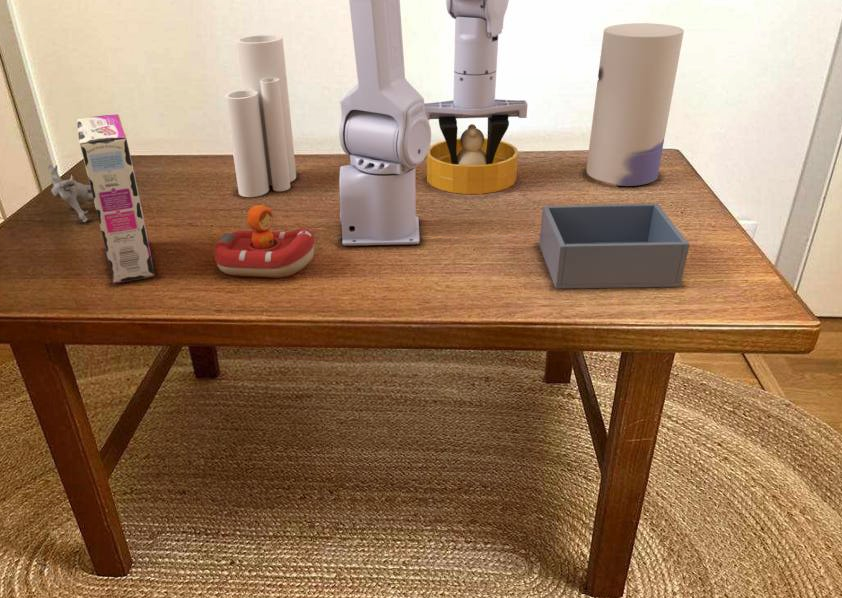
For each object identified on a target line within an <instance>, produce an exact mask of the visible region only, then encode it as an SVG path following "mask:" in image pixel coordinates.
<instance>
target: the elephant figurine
mask: <svg viewBox="0 0 842 598" xmlns="http://www.w3.org/2000/svg"><path fill="white" fill-rule="evenodd" d="M47 170H48V171H49V174H50V176H49V181H50V183H51V184H52V185H53V186H52V188H51V189H50V191H51V194H52V195H53V196H54V197H55V198H61V199H62V200H63V202H65V203H67V204H69V206H70V207H71V208H72V209H74V210H75V212H76V213H77V214H78V218H79V219H80V220H81V221H82V222H83V223H86V222H88V217H87V216H86V214H88V213H89V210H86V211H84V210H83V209H82V208H81V205H84V204H85V203H87V202H94V199H93V195H92V191H91V187H90V184H83V183H81V182H77V181H76V180H75V179H74V176H73V175H72V174H70V178H69V179H65V180H63V179H62V178H61V176H60V175H59V173H58V165H55V166H54V167H53V165H52V163H49V164H48V165H47Z"/></svg>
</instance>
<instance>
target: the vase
mask: <svg viewBox="0 0 842 598" xmlns="http://www.w3.org/2000/svg"><path fill="white" fill-rule="evenodd" d="M234 44H235V52H236V61H237V67H238V75H239V84H240V89H238V90H233V91H230V92H228V93H226V94H224V101H225V108H226V114H227V121H228V122H227V123H228V128H229V135H230V143H231V149H232V155H233V164H234V168H235V169H234V170H235V177H236V184H237V191H238V195H239V196H240V197H244V198H255V197H260V196H263V195H266V194H267V193H269V191H270V189H271V188H270V186H271V187H272V190H273V191H274V192H285V191H288V190H290V189H291V182H293V181H295V180H296V178H297V169H296V160H295V149H294V140H293V128H292V119H291V110H290V109H291V108H290V100H289V99H290V98H289V97H290V96H289V89H288V88H289V87H288V77H287V69H286V56H285V48H284V47H285V46H284V38H283V36H281V35H277V34H255V35H248V36H242V37H238V38H236V39H234Z"/></svg>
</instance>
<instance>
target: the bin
mask: <svg viewBox="0 0 842 598" xmlns="http://www.w3.org/2000/svg"><path fill="white" fill-rule="evenodd" d="M539 231H540V233H539V242H538V245H539V248H540V250H541V253H542V256H543V260H544V261H545V264H546V267H547V270H548V273H549V275H550V277H551V280H552V283H553V286H554V288H555V289H556V290H561V289H563V290H564V289H566V290H567V289H617V288H618V289H622V288H623V289H624V288H630V289H631V288H676V287H677V288H680V287H681V286H682V280H683V277H684V271H685V269H686V268H685V267H686V262H687V259H688V258H687V257H688V253H689V250H690V246H691V245H690V242H688V240H687V239H686V238H685V236H684V235H683V233H682V232H681V231H680V230H679V228H678V227H677V226H676V225H675V224H674V222H673V221H672V220H671V218H670V217H669V216H668V215H667V214H666V212H665V211H664V210H663V208H662V207H661V206H660V205H659V203H618V204H615V203H614V204H574V205H572V204H571V205H543V206H542V212H541V222H540V230H539Z"/></svg>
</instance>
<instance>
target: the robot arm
mask: <svg viewBox="0 0 842 598" xmlns="http://www.w3.org/2000/svg"><path fill="white" fill-rule="evenodd" d="M348 2H349V12H350V22H351V23H350V24H351V31H352V41H353V48H354V49H353V51H354V56H355V57H354V58H355V68H356V77H357V84H356V85H355V86H353V87H352V88H351V89H350V90H349V91H348V92H347V93H346V94H345V95H344V97H343V98H342V99H341V101H340V112H341V114H340V115H341V117H340V123H339V129H338V136H339V142H340V146H341V148H342V151H343V152H344V153H345V154H346V155H347V156H349V158H350V164H347V165H342V166H340V167H339V203H340V209H339V211H340V212H339V222H340V225H341V235H342V241H341V244H342V246H344V247H345V246H346V247H347V246H348V247H350V246H397V245H399V246H400V245H402V246H403V245H404V246H405V245H419V244H420V222H419V221H420V219H419V216H417V213H416V211H417V208H416V207H417V205H416V204H417V203H416V201H417V200H416V199H417V197H416V194H417V192H416V187H417V186H416V185H417V184H416V183H417V182H416V180H417V179H416V178H417V177H416V172H417V171H416V168H417V167H418V166H420V165H421V164H422V162H423V161H424V160H425V158H427V153H428V150H429V147H430V146H431V143H432V129H431V124H430V120H438V126H439V128H440V131H441V134H442V136H443V137H444V141H446V143H447V146H448V149H449V153H450V157H451V164H457V149H456V148H457V139H458V121H457V119H487V149H486V156H487V164H493V160H494V156H495V153H496V151H497V148H498V146H499V144H500V141H502V139H503V137H504V136H505V134H506V132H507V131H508V129H509V126H510V120H509V118H519V119H526V118H528V106H529V105H528V102H527V101H526V100H525V99H522V100H521V99H519V100H518V99H517V100H516V99H515V100H514V99H498V98H496V87H497V70H498V68H497V67H498V51H499V35H501V34H502V33H503V29H504V19H505V15H506V12H507V9H508V6H509V2H510V0H445V3H446V10H447V14H448V15H450V17H451V18H452V19H453V20H455V21H454V57H453V58H454V61H453V62H454V63H453V64H454V66H453V100H444V101H436V102H426V103H425V98H424V96H422V94H420V92H419V91H418V90H417V89H416V88H415V87H414V86H413V85H412V84H411V83H410V82H409V81H408V80H407V79H406V71H405V58H404V57H405V56H404V43H403V42H404V41H403V27H402V15H401V14H402V12H401V0H348Z"/></svg>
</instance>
